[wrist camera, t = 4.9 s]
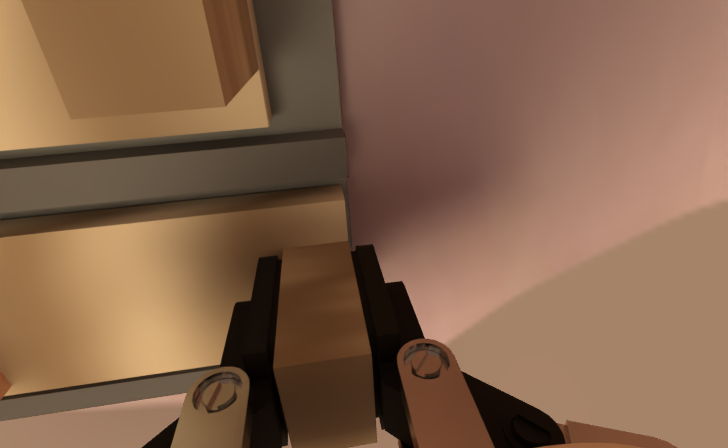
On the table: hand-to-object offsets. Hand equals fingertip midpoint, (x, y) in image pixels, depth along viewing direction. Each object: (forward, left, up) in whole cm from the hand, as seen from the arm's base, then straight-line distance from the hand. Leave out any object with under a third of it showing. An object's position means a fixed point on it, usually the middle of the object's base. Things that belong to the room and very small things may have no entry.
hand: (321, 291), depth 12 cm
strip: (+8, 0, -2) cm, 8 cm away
